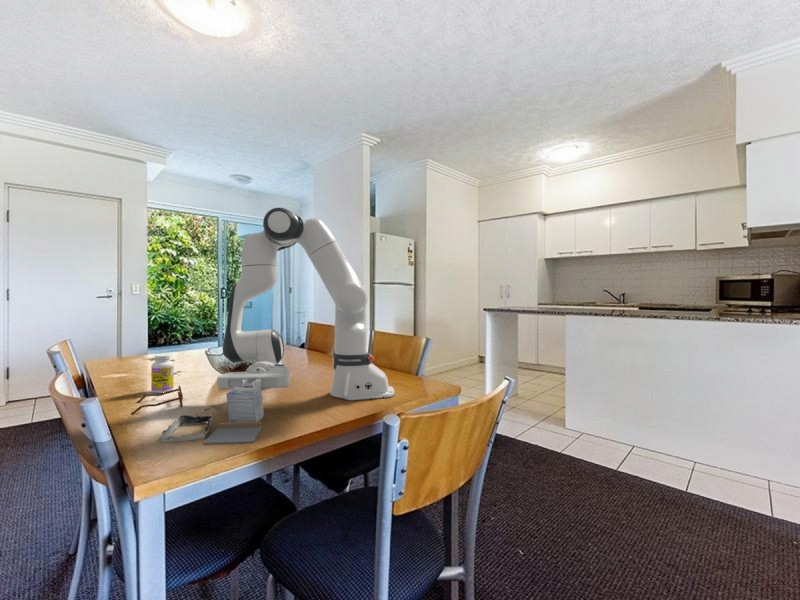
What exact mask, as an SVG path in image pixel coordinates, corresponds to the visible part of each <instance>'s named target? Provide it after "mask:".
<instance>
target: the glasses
mask: <svg viewBox="0 0 800 600" xmlns="http://www.w3.org/2000/svg"><path fill="white" fill-rule="evenodd" d="M174 392H177V395H178V397H176V398H172V399H169V400H164V401H162V402H161V401H160V402H157V403H152V404H151V403H149V404H144V405H140V406H139V407H137V408H136V409H135V410H133V412H131V413H130V415H135V414H136V413H137V412H139V411H140V410H141V409H142V408H148V407H158V406H161V405H165V404H168V403H172V402H176V401H178V400H179V405H180V407H181V408H182V407H184V406H183V405H184V404H183V400H184V397H183V392H182V387H181V385H178V387H177V388H175V389H173V390H171V391H168V392H164V393H151V394H144V395H142V397H141V398H140V399H139V400H137V401H136V403H135V404H139V403H141V402H142V401H143V400H144V399H145V398H146V397H160V396H164V395H167V394H173V393H174Z"/></svg>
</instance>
